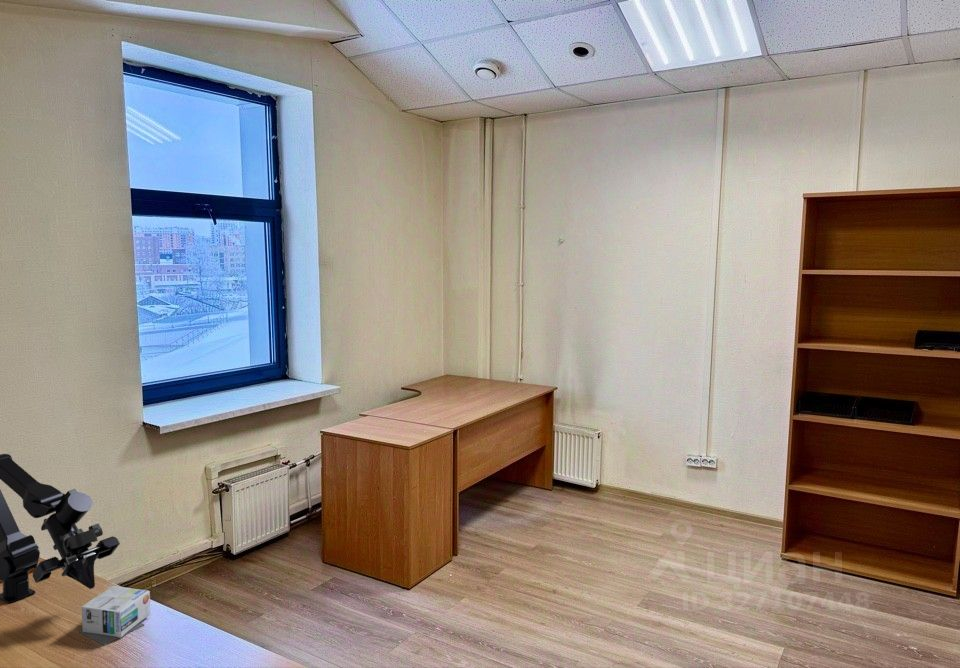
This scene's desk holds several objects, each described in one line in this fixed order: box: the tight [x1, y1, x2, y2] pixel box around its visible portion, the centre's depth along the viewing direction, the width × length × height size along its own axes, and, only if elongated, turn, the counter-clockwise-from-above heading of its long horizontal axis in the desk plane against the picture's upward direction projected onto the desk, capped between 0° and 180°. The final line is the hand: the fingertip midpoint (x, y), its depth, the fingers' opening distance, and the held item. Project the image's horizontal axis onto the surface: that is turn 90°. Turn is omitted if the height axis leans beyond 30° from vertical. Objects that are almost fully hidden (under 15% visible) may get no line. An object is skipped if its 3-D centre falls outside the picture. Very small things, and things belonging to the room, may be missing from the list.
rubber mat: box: [79, 622, 145, 646], centre depth 162 cm, size 10×10×1 cm
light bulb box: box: [81, 585, 151, 639], centre depth 163 cm, size 11×7×11 cm
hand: (92, 587), depth 163 cm, fingers closed
